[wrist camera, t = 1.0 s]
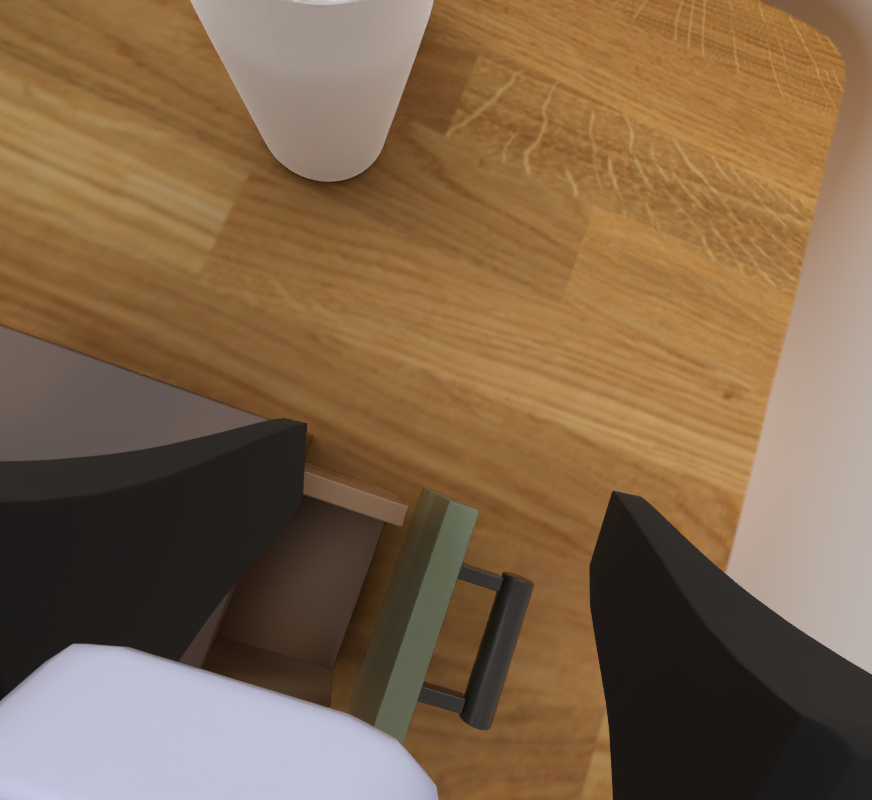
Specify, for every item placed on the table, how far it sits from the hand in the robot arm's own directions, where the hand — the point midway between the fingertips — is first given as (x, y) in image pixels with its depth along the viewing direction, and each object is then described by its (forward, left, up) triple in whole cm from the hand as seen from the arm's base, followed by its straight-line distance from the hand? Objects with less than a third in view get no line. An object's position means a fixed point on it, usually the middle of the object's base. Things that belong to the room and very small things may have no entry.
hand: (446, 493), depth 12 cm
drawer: (-4, +4, -14) cm, 15 cm away
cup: (+19, 0, -15) cm, 24 cm away
